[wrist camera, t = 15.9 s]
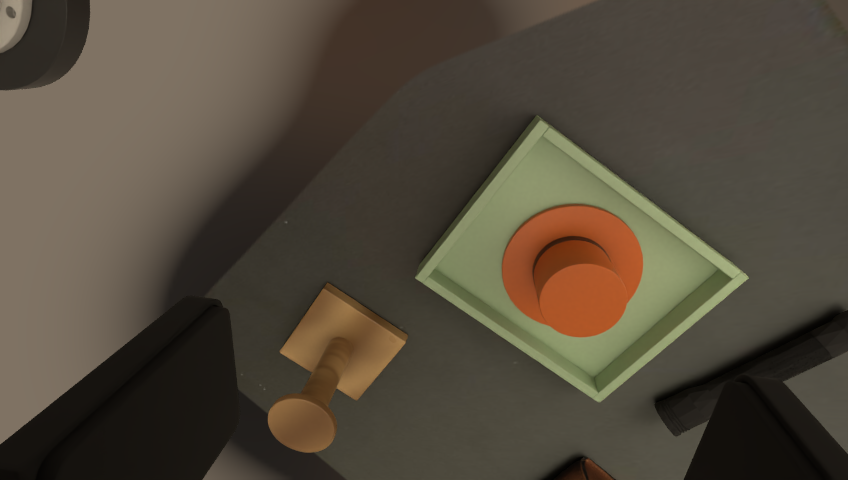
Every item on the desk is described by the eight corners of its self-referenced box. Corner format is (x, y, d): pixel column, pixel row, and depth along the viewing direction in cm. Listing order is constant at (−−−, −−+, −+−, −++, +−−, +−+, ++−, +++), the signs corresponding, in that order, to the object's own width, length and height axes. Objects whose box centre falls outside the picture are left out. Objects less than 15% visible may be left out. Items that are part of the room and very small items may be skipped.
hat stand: (284, 345, 45) (224, 429, 35) (327, 281, 41) (275, 355, 31) (359, 392, 46) (323, 488, 36) (408, 335, 42) (382, 423, 32)
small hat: (475, 277, 38) (472, 311, 33) (562, 175, 34) (575, 197, 29) (575, 346, 40) (588, 390, 35) (672, 257, 35) (702, 291, 30)
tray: (419, 264, 39) (414, 278, 37) (536, 114, 33) (540, 119, 31) (592, 383, 42) (599, 403, 39) (732, 262, 36) (749, 277, 33)
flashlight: (650, 397, 41) (661, 421, 39) (839, 300, 36) (869, 321, 33) (668, 418, 42) (681, 443, 39) (857, 326, 36) (888, 349, 33)
